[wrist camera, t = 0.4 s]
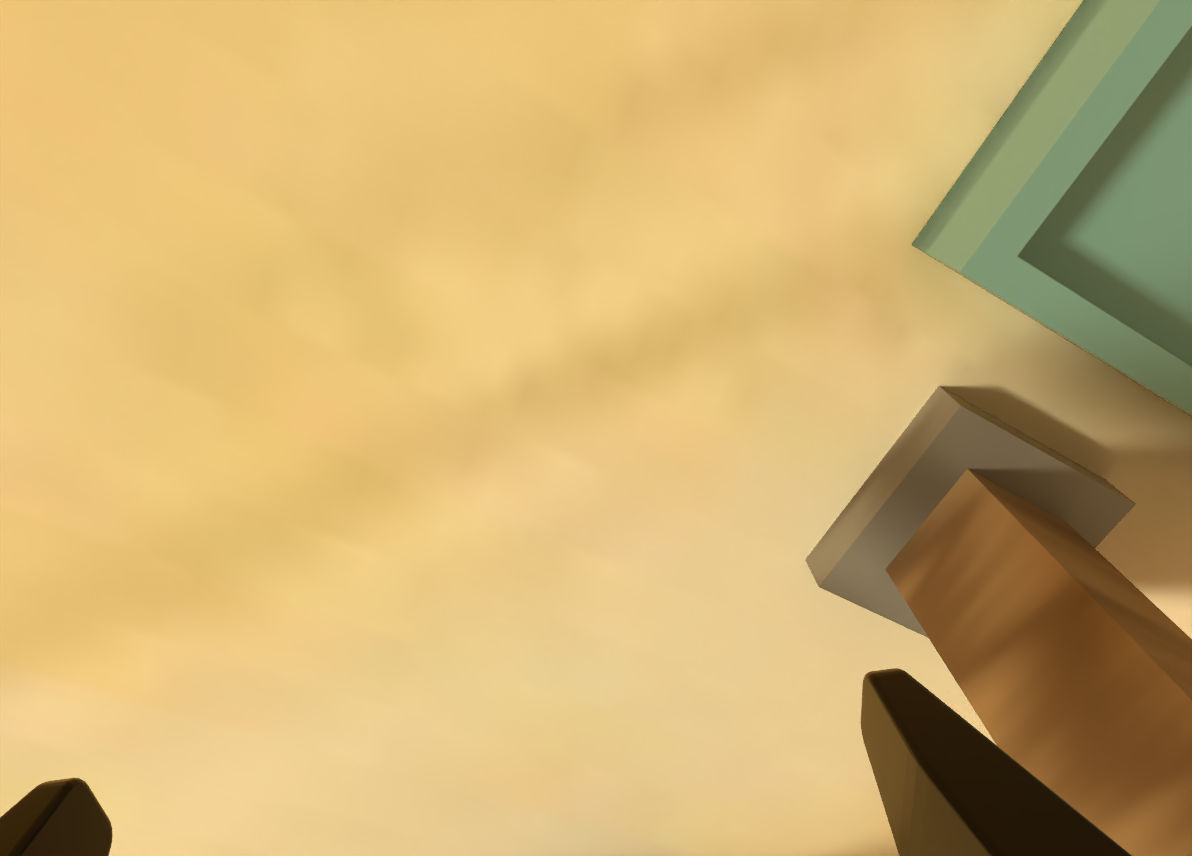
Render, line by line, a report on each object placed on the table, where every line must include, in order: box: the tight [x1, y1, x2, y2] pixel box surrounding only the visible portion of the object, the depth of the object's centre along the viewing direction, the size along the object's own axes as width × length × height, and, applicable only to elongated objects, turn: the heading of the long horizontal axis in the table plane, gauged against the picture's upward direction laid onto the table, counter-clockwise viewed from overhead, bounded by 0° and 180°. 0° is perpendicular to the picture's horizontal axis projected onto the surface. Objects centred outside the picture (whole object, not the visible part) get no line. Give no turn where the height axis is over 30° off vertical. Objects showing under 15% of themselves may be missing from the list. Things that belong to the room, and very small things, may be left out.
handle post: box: [806, 386, 1192, 856], centre depth 21 cm, size 7×7×13 cm
